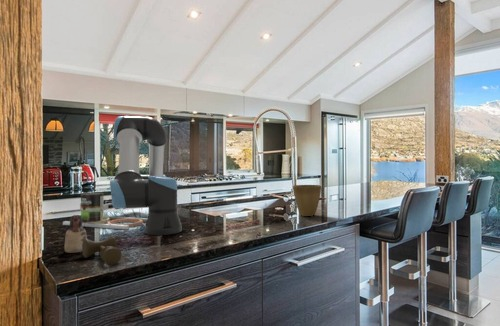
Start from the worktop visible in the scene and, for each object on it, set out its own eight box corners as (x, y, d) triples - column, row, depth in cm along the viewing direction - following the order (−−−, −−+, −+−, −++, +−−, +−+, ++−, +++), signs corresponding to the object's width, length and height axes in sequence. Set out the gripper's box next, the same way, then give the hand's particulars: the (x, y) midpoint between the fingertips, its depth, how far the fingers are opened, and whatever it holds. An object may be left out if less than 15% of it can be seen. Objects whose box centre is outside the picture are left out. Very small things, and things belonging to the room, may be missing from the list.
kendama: (95, 270, 97) (78, 253, 113) (129, 264, 104) (108, 248, 119) (96, 249, 97) (78, 235, 113) (130, 244, 103) (109, 231, 119)
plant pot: (321, 213, 188) (321, 184, 188) (321, 218, 173) (320, 186, 173) (294, 212, 191) (294, 184, 191) (291, 217, 177) (291, 186, 176)
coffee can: (92, 225, 160) (91, 194, 160) (75, 223, 164) (75, 194, 164) (108, 221, 170) (108, 192, 170) (93, 219, 174) (92, 192, 174)
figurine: (89, 246, 121) (88, 212, 121) (86, 251, 114) (86, 215, 114) (66, 248, 119) (66, 213, 119) (62, 253, 112) (62, 217, 112)
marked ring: (148, 222, 166) (148, 219, 166) (127, 228, 151) (127, 225, 151) (122, 220, 170) (122, 217, 170) (100, 226, 156) (100, 223, 156)
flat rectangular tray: (152, 221, 167) (152, 218, 167) (126, 229, 149) (126, 226, 149) (93, 218, 179) (93, 215, 179) (62, 224, 161) (62, 221, 161)
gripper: (140, 209, 183) (112, 215, 163) (103, 207, 191) (71, 213, 171) (140, 195, 183) (112, 199, 163) (102, 193, 191) (71, 198, 171)
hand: (91, 206), depth 167 cm, fingers open, 13 cm apart
